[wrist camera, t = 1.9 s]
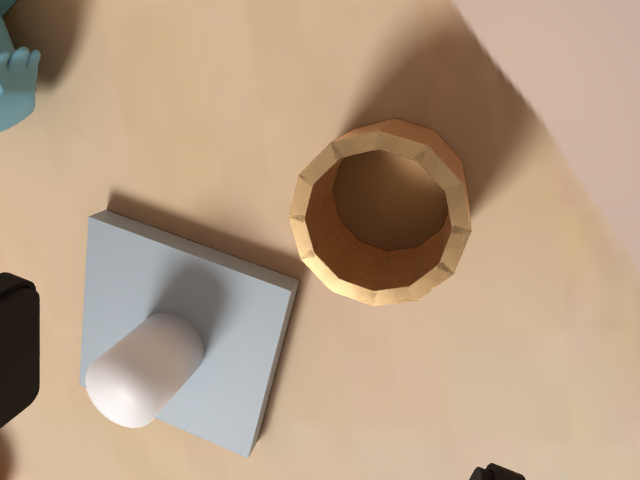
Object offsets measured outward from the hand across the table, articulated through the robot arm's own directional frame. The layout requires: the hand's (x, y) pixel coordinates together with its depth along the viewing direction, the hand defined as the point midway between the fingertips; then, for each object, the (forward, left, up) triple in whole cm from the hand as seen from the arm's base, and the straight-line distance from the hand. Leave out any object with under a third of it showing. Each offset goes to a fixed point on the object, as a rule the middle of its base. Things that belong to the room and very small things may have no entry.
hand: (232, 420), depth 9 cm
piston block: (+9, +12, -17) cm, 23 cm away
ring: (-1, -1, -17) cm, 17 cm away
